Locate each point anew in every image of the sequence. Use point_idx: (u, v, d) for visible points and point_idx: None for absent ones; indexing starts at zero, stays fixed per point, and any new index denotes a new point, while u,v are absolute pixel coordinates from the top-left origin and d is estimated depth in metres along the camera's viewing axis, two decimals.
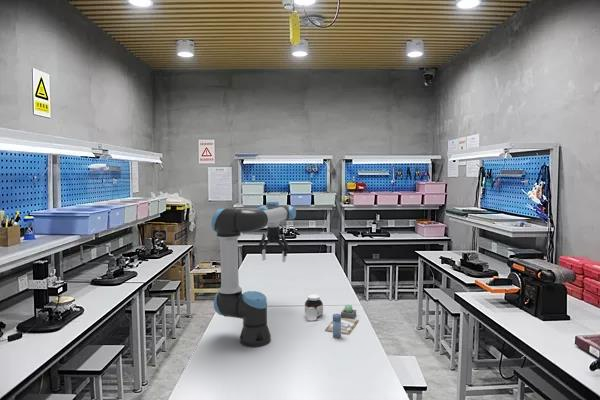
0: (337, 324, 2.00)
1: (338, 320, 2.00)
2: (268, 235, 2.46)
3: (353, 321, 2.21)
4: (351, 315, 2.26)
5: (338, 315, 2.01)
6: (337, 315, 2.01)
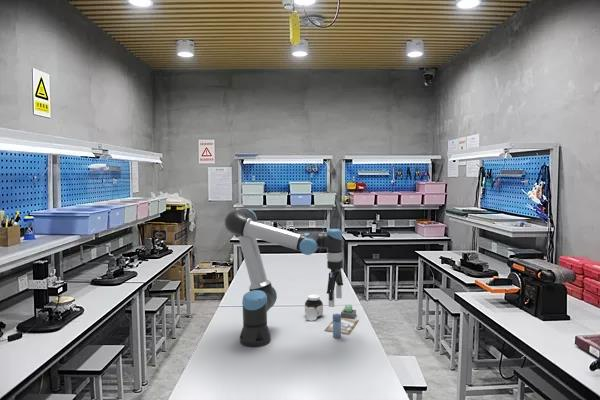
0: (337, 324, 2.00)
1: (338, 320, 2.00)
2: None
3: (353, 321, 2.21)
4: (351, 315, 2.26)
5: (338, 315, 2.01)
6: (337, 315, 2.01)
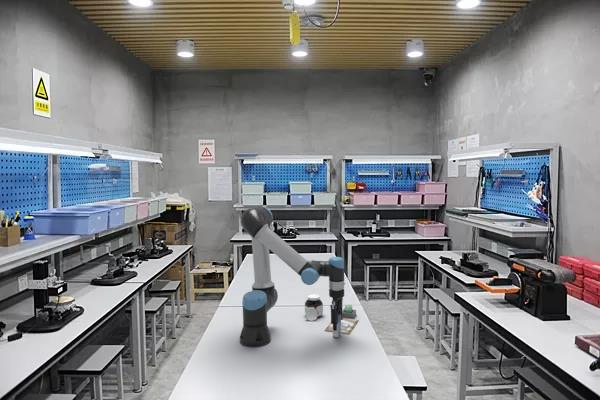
0: None
1: (338, 320, 2.00)
2: None
3: (353, 321, 2.21)
4: (351, 315, 2.26)
5: (338, 315, 2.01)
6: None
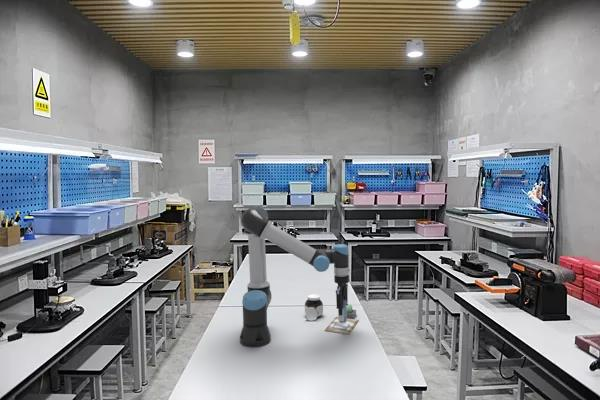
0: None
1: (343, 305, 2.07)
2: None
3: (353, 321, 2.21)
4: (351, 315, 2.26)
5: (343, 300, 2.08)
6: None
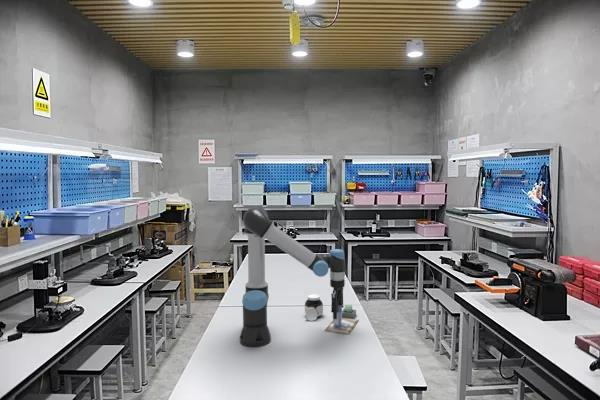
0: (338, 314, 2.11)
1: (339, 311, 2.11)
2: None
3: (353, 321, 2.21)
4: (351, 315, 2.26)
5: (339, 306, 2.13)
6: (338, 306, 2.13)
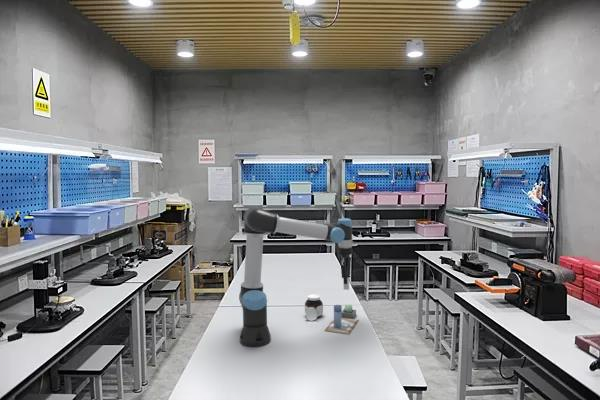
0: (338, 314, 2.11)
1: (339, 311, 2.11)
2: None
3: (353, 321, 2.21)
4: (351, 315, 2.26)
5: (339, 306, 2.13)
6: (338, 306, 2.13)
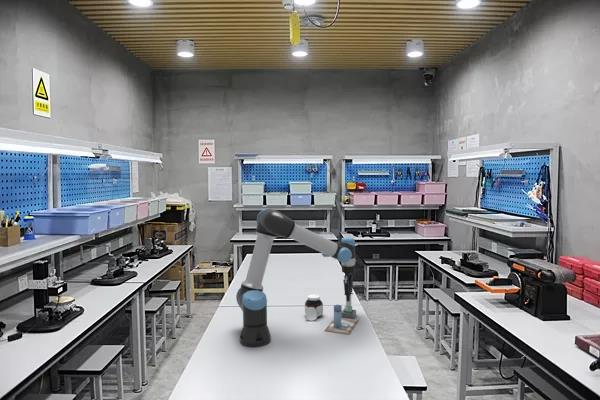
0: (338, 314, 2.11)
1: (339, 311, 2.11)
2: None
3: (353, 321, 2.21)
4: (351, 315, 2.26)
5: (339, 306, 2.13)
6: (338, 306, 2.13)
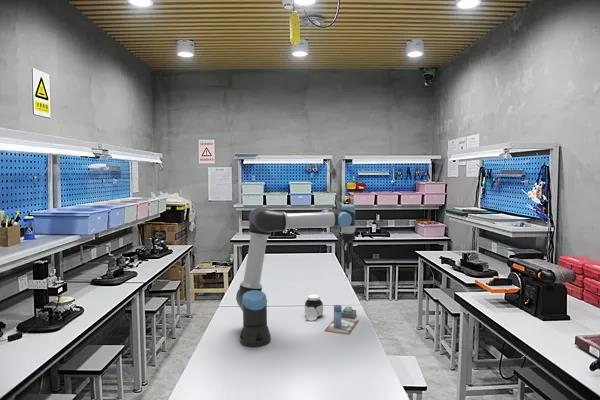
0: (338, 314, 2.11)
1: (339, 311, 2.11)
2: None
3: (353, 321, 2.21)
4: (351, 315, 2.26)
5: (339, 306, 2.13)
6: (338, 306, 2.13)
